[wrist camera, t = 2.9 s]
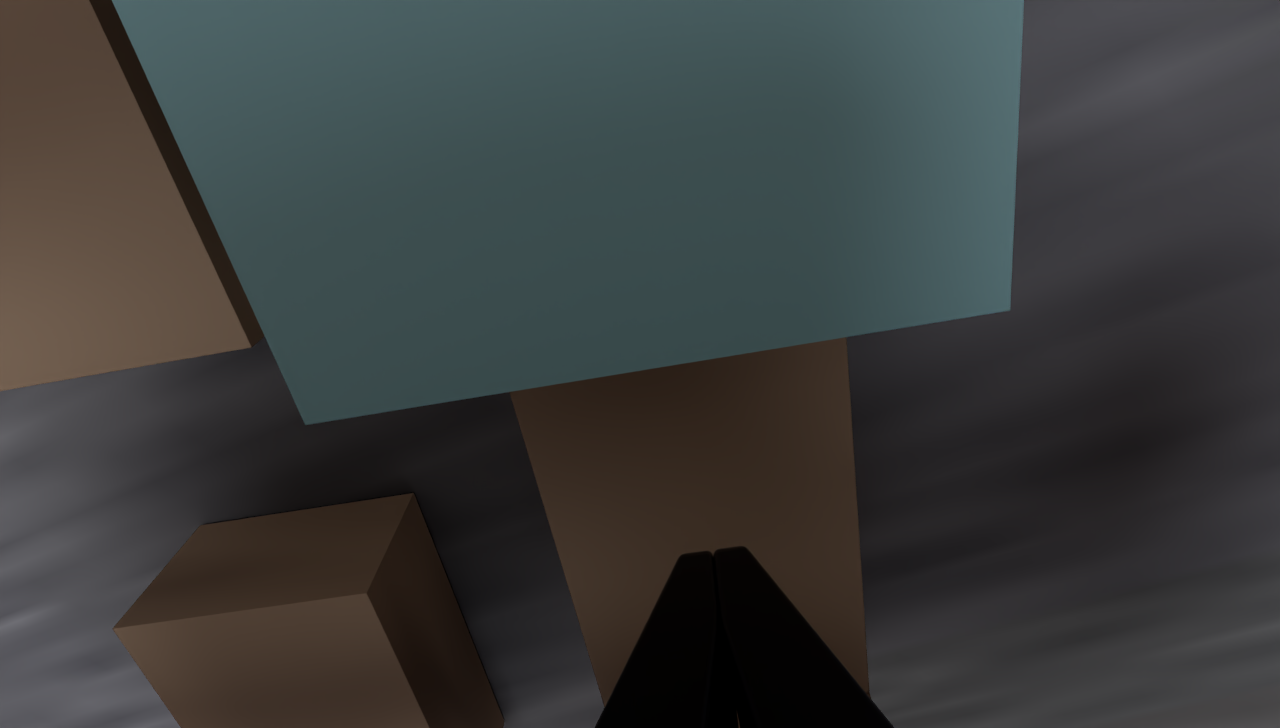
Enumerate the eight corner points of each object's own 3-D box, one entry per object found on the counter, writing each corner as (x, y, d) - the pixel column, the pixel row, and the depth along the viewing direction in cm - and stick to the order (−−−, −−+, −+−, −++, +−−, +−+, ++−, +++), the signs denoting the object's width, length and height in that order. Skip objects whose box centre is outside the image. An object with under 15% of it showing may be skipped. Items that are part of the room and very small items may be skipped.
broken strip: (504, 721, 15) (481, 839, 13) (324, 743, 16) (274, 861, 14) (134, -211, 8) (-44, -283, 6) (-176, -133, 9) (-447, -178, 6)
